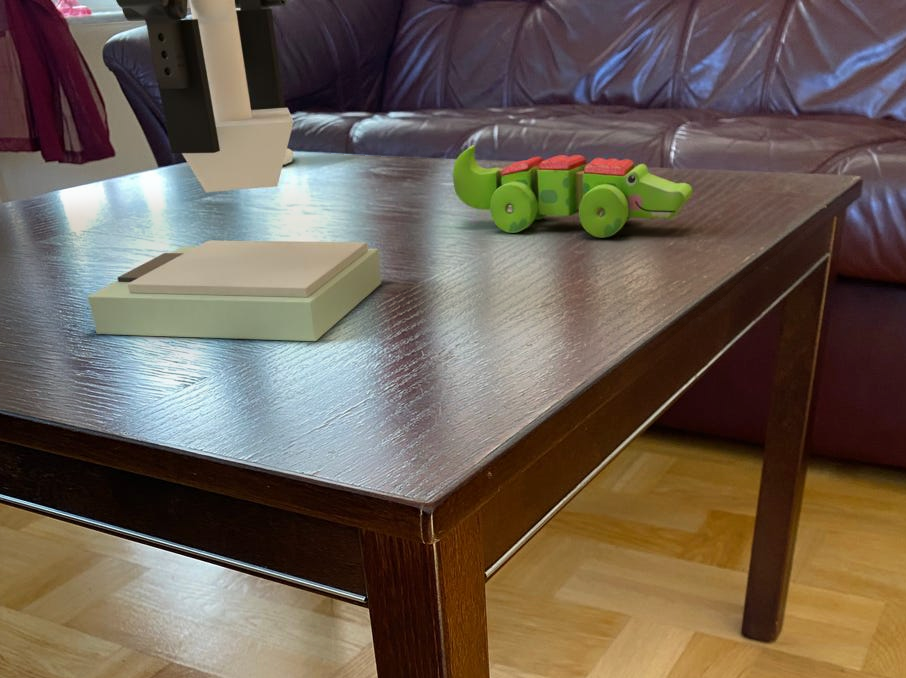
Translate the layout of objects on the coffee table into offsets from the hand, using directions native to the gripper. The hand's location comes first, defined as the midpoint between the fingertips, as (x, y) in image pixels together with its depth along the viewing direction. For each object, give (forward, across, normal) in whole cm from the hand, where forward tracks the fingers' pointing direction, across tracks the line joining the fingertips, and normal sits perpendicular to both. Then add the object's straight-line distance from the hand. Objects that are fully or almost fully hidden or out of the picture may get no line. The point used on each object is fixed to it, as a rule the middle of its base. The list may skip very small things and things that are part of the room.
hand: (233, 138), depth 63 cm
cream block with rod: (+3, 0, 0) cm, 3 cm away
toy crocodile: (+11, +24, -17) cm, 31 cm away
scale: (+10, 0, +1) cm, 10 cm away
